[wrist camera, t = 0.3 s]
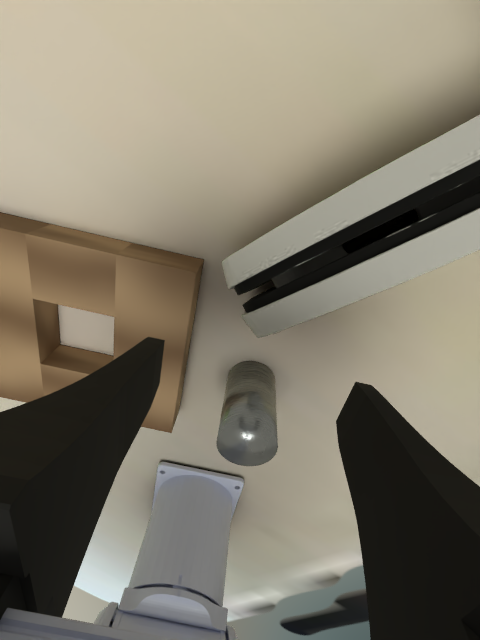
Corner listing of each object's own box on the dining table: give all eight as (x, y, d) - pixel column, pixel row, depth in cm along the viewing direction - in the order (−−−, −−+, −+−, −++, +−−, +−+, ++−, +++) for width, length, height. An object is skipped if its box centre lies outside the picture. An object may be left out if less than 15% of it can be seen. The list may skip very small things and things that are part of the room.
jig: (179, 409, 26) (169, 437, 24) (-43, 362, 25) (-77, 385, 23) (203, 259, 20) (194, 275, 17) (-90, 191, 19) (-143, 198, 17)
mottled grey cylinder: (268, 402, 25) (268, 471, 20) (223, 393, 25) (211, 459, 20) (280, 367, 23) (284, 431, 18) (232, 356, 23) (222, 418, 18)
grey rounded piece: (271, 331, 22) (234, 386, 12) (241, 268, 22) (179, 276, 12) (552, 208, 17) (852, 142, 7) (517, 125, 17) (784, -55, 7)
